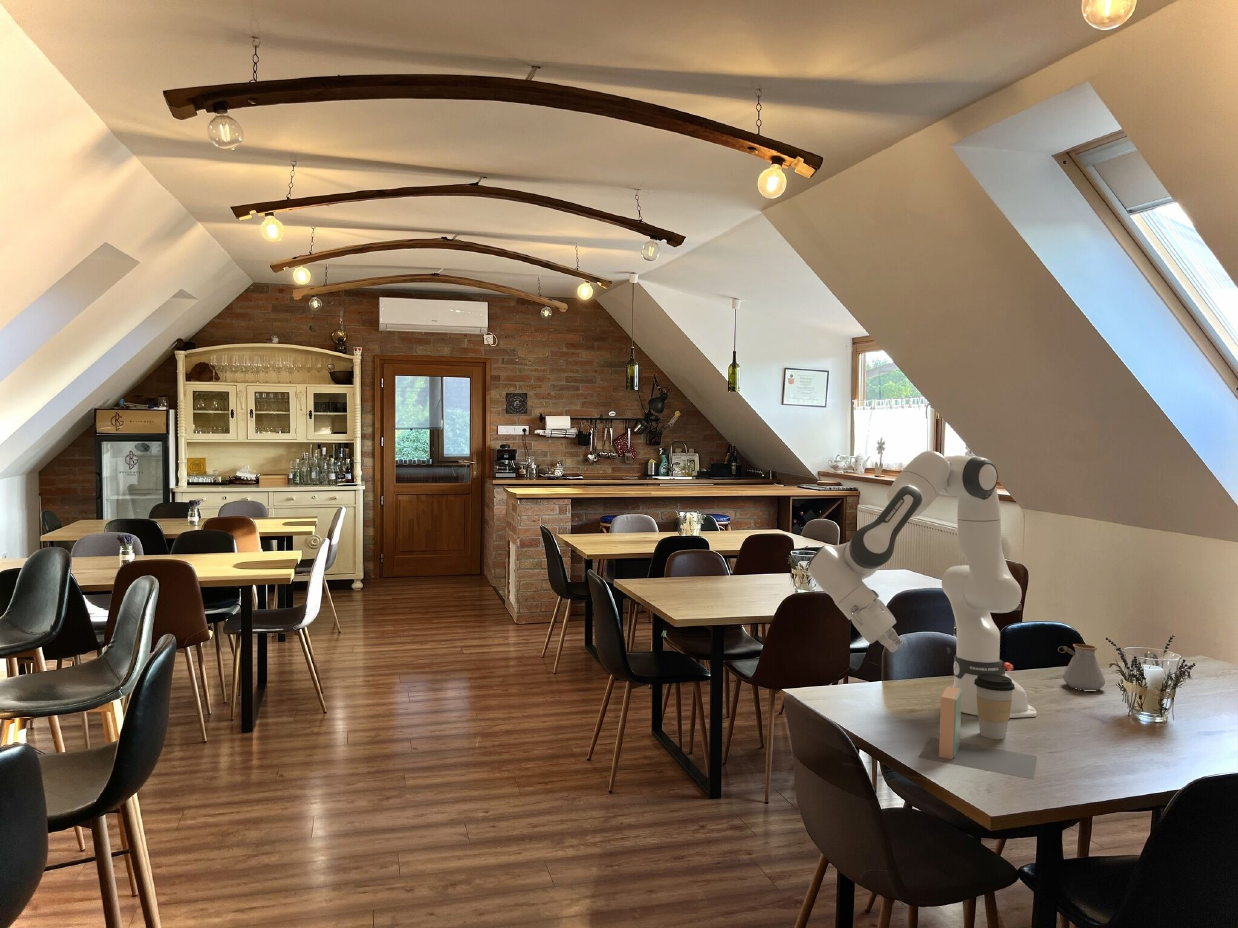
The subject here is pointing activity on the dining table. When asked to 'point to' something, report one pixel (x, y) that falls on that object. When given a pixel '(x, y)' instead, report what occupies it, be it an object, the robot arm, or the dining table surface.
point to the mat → (984, 759)
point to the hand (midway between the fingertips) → (897, 647)
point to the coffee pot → (1083, 668)
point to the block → (950, 722)
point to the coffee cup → (993, 704)
